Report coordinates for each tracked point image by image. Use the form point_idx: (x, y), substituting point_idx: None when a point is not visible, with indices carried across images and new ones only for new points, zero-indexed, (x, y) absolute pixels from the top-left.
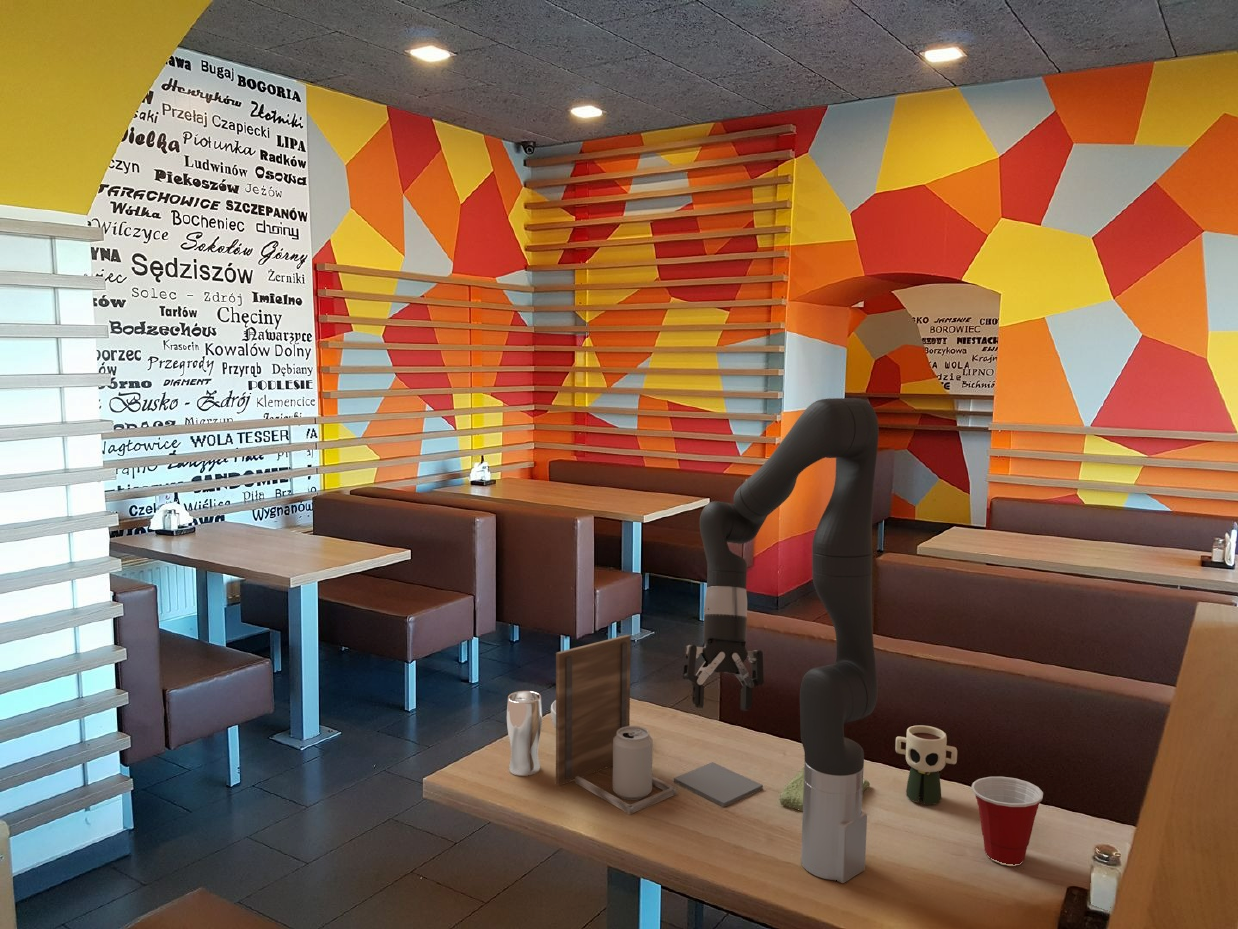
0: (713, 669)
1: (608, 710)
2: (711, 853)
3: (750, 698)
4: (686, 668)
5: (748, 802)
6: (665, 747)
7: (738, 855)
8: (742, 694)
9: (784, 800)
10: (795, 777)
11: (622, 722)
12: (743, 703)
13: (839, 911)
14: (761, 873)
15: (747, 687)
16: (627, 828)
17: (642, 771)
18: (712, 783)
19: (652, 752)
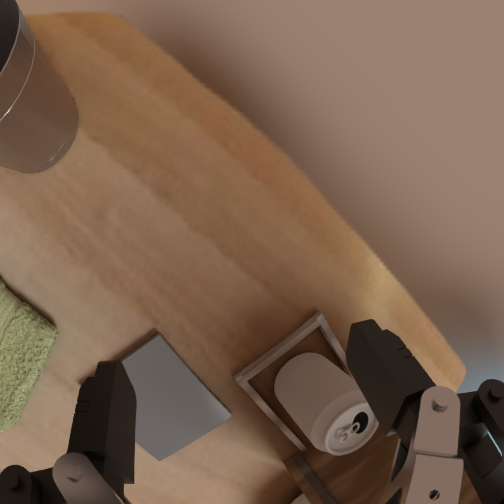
0: (417, 491)
1: (361, 491)
2: (214, 179)
3: (84, 412)
4: (490, 458)
5: (111, 346)
6: (224, 495)
7: (170, 167)
8: (126, 447)
9: (50, 326)
10: (25, 391)
11: (324, 490)
12: (124, 399)
13: (82, 24)
14: (149, 112)
15: (96, 465)
16: (327, 270)
17: (315, 375)
18: (168, 401)
19: (304, 411)
